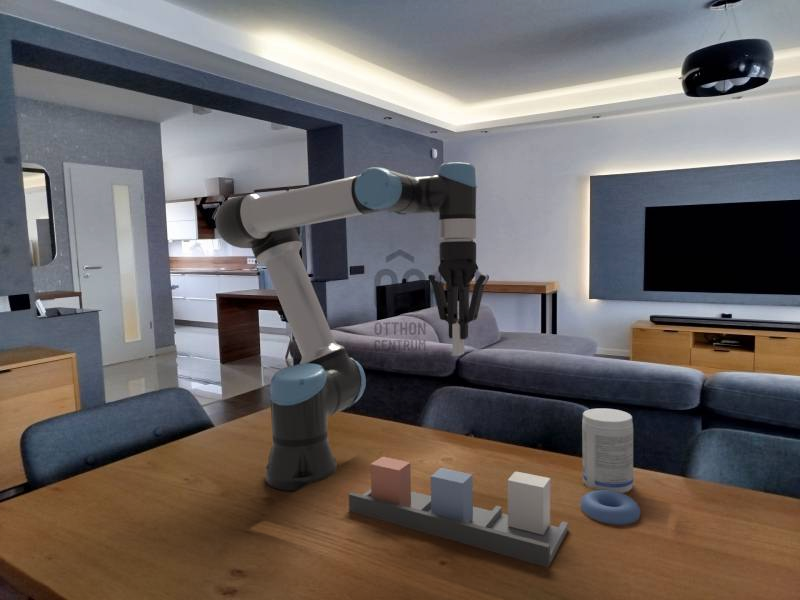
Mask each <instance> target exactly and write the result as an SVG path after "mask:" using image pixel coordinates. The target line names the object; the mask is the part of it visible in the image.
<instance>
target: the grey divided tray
mask: <svg viewBox="0 0 800 600" xmlns="http://www.w3.org/2000/svg"><path fill="white" fill-rule="evenodd" d="M502 510H503V507H502V506H499V505H496V506H494V508H492V510H490V509H487V508H481V507H477V506H474V505H473V520H472V521H471V522H470V523H468V522H464V521H460V520H456V519H452V518H449V517H445V516H441V515H437V514H433V513H431V495H429V494H425V493H424V494H423V493H419V492H415V491H412V490H411V505H410V506H409V507H407V506H403V505H399V504H395V503H391V502H388V501H384V500H380V499H376V498H372V497H371V488H369V489H368V490H367V491H365V492H364V493H362V494H361V493H357V492H350V493H349V494H348V511H349V512H353V513H356V514H360V515H364V516H367V517H370V518H374V519H378V520H381V521H385V522H388V523H392V524H396V525H398V526H402V527H406V528H409V529H413V530H416V531H420V532H423V533H427V534H430V535H432V536H433V535H434V536H437V537H441V538H444V539H447V540H452V541H454V542H459V543H461V544H465V545H469V546H473V547H476V548H479V549H483V550H487V551H490V552H493V553H497V554H501V555H504V556H508V557H511V558H514V559H518V560H522V561H525V562H529V563H532V564H536V565H540V566H543V567H546V568H549V567H550V565H551V563H552V561H553V559H554V558H555V555H556V553H557V552H558V549H559V548H560V546H561V544H562V542H563V540H564V538H565V536H566V534H567V533H568V531H569V522H566V521H561V523H560V524H559V526H555V525H551V524H550V525H549V526H548V528H547V530H546V531H545V533H544V535H541V534H537V533H533V532H529V531H525V530H522V529H518V528H514V527H510V526H508V514H506V513H503V511H502Z"/></svg>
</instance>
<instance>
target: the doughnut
mask: <svg viewBox="0 0 800 600" xmlns="http://www.w3.org/2000/svg"><path fill="white" fill-rule="evenodd" d="M579 507H580V511H581V512H582V514H584V515H585V516H587V517H588V518H590V520H591V519H592V520H593V521H597V522H599V523H604V524H607V525H608V524H609V525H615V526H622V525H629V524H630V525H631V524H633V523H634V524H635V523H636V522H637V521H638V520H639V519H640V516H641V509H640V507H639V504H638V503H637V502H636V501H635V500H634V499H633V498H632V497H631V496H629V495H627V494H626V493H619V492H616V491H611V490H600V489H596V490H592V491H589V492H587V493H585V494H584V495H583V496H582V498H581V500H580V504H579Z"/></svg>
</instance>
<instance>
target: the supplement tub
mask: <svg viewBox="0 0 800 600" xmlns="http://www.w3.org/2000/svg"><path fill="white" fill-rule="evenodd" d="M581 420H582V421H581V423H582V425H581V429H582V430H581V434H582V436H581V437H582V438H581V439H582V440H581V441H582V447H581V448H582V482H583V484H584V485H585V486H586V487H587V488H589V489H596V490H611V491H616V492H619V493H622V494H626V493H628V492H629V491H631V489H632V488H633V486H634V424H633V416H632V415H631V413H628V412H626V411H623V410H620V409H614V408H606V407H605V408H597V407H596V408H591V409H585V411H584V412H582V418H581Z"/></svg>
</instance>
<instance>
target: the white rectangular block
mask: <svg viewBox="0 0 800 600" xmlns="http://www.w3.org/2000/svg"><path fill="white" fill-rule="evenodd" d="M507 515H508V526H510V527H514V528H518V529H522V530H525V531H529V532H533V533H537V534H541V535H544V533H545V531H546V530H547V528H548V526H549V525H551V477H547V476H540V475H536V474H531V473H526V472H520V471H516V470H515V471H514V472H513V474H511V476H510V477H509V478H508V479H507Z"/></svg>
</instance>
